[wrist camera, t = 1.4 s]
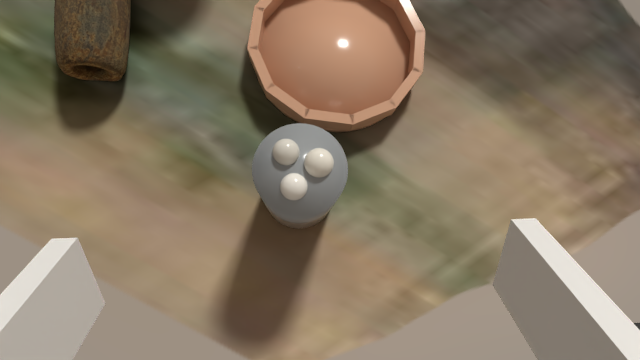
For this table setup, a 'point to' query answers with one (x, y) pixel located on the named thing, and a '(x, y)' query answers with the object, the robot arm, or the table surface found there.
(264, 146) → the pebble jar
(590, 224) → the table surface
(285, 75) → the terracotta bowl
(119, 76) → the stone weight
